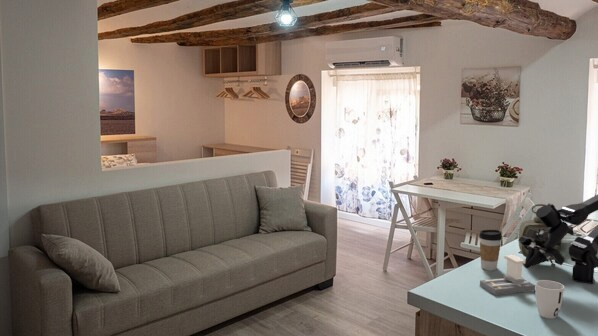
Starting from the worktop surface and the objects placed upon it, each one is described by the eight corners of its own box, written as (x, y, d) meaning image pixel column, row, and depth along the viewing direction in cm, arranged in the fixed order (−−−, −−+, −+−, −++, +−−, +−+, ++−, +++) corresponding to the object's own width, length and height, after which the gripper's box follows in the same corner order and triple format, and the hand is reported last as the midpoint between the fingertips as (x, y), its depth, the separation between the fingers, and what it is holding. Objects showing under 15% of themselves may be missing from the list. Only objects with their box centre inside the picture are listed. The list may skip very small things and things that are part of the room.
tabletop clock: (520, 266, 209) (523, 205, 205) (516, 259, 217) (519, 200, 214) (559, 269, 205) (564, 207, 202) (553, 262, 214) (558, 202, 210)
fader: (512, 276, 190) (513, 254, 189) (524, 282, 184) (525, 260, 183) (502, 276, 189) (503, 255, 188) (514, 283, 183) (516, 261, 182)
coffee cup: (501, 272, 203) (504, 234, 201) (479, 270, 204) (480, 233, 202) (498, 264, 211) (500, 228, 209) (476, 263, 213) (478, 227, 210)
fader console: (518, 281, 193) (518, 274, 192) (534, 290, 184) (535, 283, 184) (479, 285, 189) (480, 278, 189) (494, 295, 180) (495, 287, 180)
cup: (560, 322, 159) (562, 291, 157) (531, 316, 163) (533, 286, 162) (563, 313, 166) (565, 283, 164) (535, 307, 170) (537, 278, 168)
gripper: (524, 214, 195) (496, 245, 194) (560, 227, 177) (529, 261, 176) (540, 233, 198) (513, 264, 197) (577, 248, 180) (548, 281, 179)
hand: (525, 267), depth 187 cm, fingers closed
